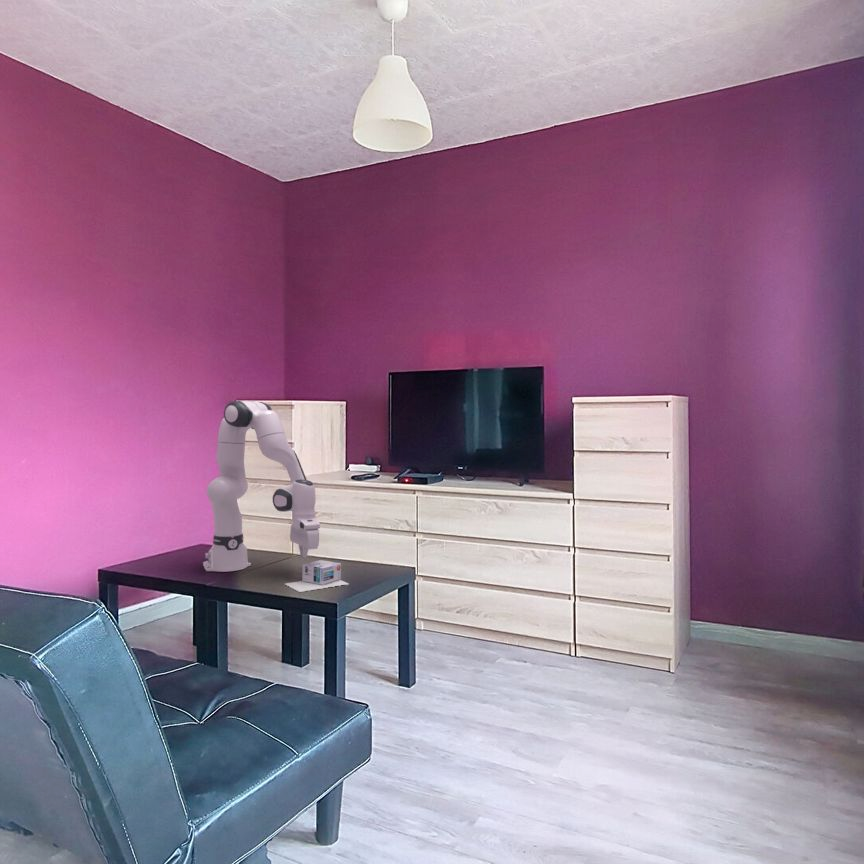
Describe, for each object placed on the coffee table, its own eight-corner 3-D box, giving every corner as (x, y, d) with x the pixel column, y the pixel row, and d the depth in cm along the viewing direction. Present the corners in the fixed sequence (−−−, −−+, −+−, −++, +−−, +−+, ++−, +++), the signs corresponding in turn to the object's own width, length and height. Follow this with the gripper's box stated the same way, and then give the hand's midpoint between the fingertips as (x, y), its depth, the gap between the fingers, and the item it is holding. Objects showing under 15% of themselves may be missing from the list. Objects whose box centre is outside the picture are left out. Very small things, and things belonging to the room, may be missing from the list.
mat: (284, 584, 250) (284, 583, 250) (332, 577, 262) (332, 576, 261) (299, 592, 239) (299, 591, 239) (349, 584, 250) (349, 583, 250)
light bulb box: (301, 581, 253) (323, 585, 247) (301, 563, 253) (323, 567, 247) (320, 576, 262) (341, 580, 256) (320, 559, 262) (341, 562, 256)
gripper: (286, 518, 265) (286, 552, 266) (306, 526, 248) (306, 562, 249) (301, 517, 269) (300, 551, 269) (322, 524, 252) (321, 560, 252)
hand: (303, 556), depth 259 cm, fingers closed
